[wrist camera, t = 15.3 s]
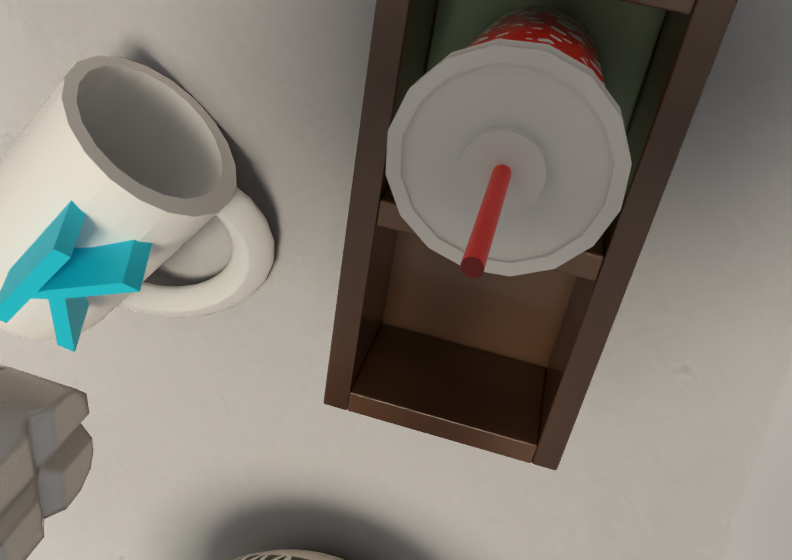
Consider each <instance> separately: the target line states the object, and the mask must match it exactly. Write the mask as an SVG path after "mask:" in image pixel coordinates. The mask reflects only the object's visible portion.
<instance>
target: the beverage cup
mask: <svg viewBox="0 0 792 560" xmlns="http://www.w3.org/2000/svg"><path fill="white" fill-rule="evenodd" d="M631 165H632V163H631V157H630V152H629V147H628V142H627V137H626V132H625V127H624V123H623V118H622V114H621V109H620V107H619V105H618V104H617V103H616V101H615V100H614V99H613V97H612V96H611V95H610V93H609V92H608V90H607V89H606V88H605V84H604V79H603V74H602V70H601V65H600V60H599V56H598V51H597V46H596V43H595V41H594V40H593V39H592V37H591V36H590V35H589V33H588V32H587V30H586V29H585V28H584V26H583V25H582V24H581V22H580V21H578V20H576V19H575V18H573V17H571V16H569V15H568V14H566V13H564V12H562V11H561V10H559V9H557V8H548V7H539V6H527V7H524V8H521V9H517V10H514V11H511V12H507V13H504V14H503V15H502V16H501V17H499V18H498V19H497V20H496V21H494V22H493V23H492V24H491V25H490V26H488V27H487V28H486V29H485V30H484V31H483V32H481V33H480V34H479V35H478V36H477V37H476V38H475V39H474V40H473V41H472V42H471V43H470V44H469V45H468V46H467V47H466V48H465V49H461V50H458V51H454V52H452V53H450V54H449V55H448V56H447V57H446V58H444V59H443V60H442V61H441V62H439V63H438V64H437V65H436V66H435V67H433V68H432V69H431V70H430V71H429V72H427V73H426V74H425V75H424V76H423V77H421V78H420V79H419V80H418V81H417V82H416V83H415V84H414V85H412V86H411V87H410V88H409V90H408V91H407V93H406V95H405V97H404V99H403V101H402V103H401V105H400V107H399V109H398V111H397V113H396V115H395V117H394V119H393V121H392V123H391V125H390V127H389V129H388V137H387V156H386V177H387V180H388V183H389V185H390V188H391V191H392V194H393V197H394V199H395V202H396V205H397V208H398V211H399V213H400V216H401V217H402V218H403V219H404V220H405V221H406V222H407V224H408V225H409V226H410V227H411V228H412V229H413V231H414V232H415V233H416V234H417V235H418V236H419V237H420V239H421V240H422V241H423V242H424V243H425V244H426V245H427V247H428V248H430V249H432V250H433V251H435V252H437V253H439V254H441V255H442V256H444V257H446V258H448V259H450V260H451V261H453V262H455V263H457V264H459V265H460V268H461V271H462V273H463V274H464V275H465V276H467V277H470V278H477V277H479V276H481V275H482V274H483V272H487V273H493V274H499V275H505V276H516V275H522V274H528V273H533V272H539V271H545V270H551V269H555V268H557V267H559V266H560V265H562V264H564V263H565V262H567V261H569V260H570V259H572V258H574V257H576V256H577V255H579V254H581V253H582V252H584V251H586V250H587V249H589V248H591V247H593V246H594V245H595V243H596V242H597V241H598V239H599V238H600V237H601V235H602V234H603V233H604V231H605V230H606V229H607V228H608V226H609V225H610V224H611V222H612V221H613V220H614V218H615V217H616V216H617V214H618V213H619V212H620V210H621V207H622V203H623V199H624V195H625V191H626V186H627V182H628V178H629V174H630V170H631Z"/></svg>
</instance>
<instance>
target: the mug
mask: <svg viewBox="0 0 792 560" xmlns="http://www.w3.org/2000/svg"><path fill="white" fill-rule="evenodd" d="M214 216H216V217H217V218H219V220H220V221H221V222H222V223H223V225H224V226H225V227H226V228H227V229H228V232H229V234H230V236H231V239H232V241H233V254H232V257H231V259H230V262H229V264H228V265H227V266H226V267H225V268H224V270H223V271H222V272H221V273H220V274H218V275H216V276H215V277H213V278H212V279H210V280H207V281H204V282H201V283H198V284H195V285H187V286H160V285H155V284H151V283H146V282H143V281H144V280H146V279H147V278H148V277H149V276H150V275H151V274H152V273H153V272H154V271H155V270H156V269H158V268H159V267H160V266H161V265H162V264H163V263H164V262H165V261H166V260H167V259H168V258H170V257H171V256H172V255H173V254H174V253H175V252H176V251H177V250H178V249H179V248H180V247H181V246H183V245H184V244H185V243H186V242H187V241H188V240H189V239H190V238H191V237H192V236H193V235H195V234H196V233H197V232H198V231H199V230H200V229H201V228H202V227H203V226H204V225H205V224H206V223H208V222H209V221H210V220H211V219H212V218H213V217H214ZM273 262H274V239H273V236H272V233H271V230H270V228H269V225H268V222H267V219H266V218H265V216H264V215H263V214H262V212H261V211H260V210H259V208H258V207H257V206H256V204H255V203H254V202H253V200H252V199H251V198H250V197H248V196H247V195H246V194H245V193H243V192H242V191H241V190H240V189H238V188H237V187H236V165H235V162H234V159H233V156H232V154H231V151H230V148H229V145H228V143H227V141H226V139H225V138H224V136H223V134H222V133H221V131H220V130H219V128H218V126H217V125H216V123H215V122H214V120H213V119H212V118H211V117H210V116H209V114H208V113H207V112H206V111H205V110H204V109H203V108H202V107H201V105H200V104H199V103H198V102H197V101H196V100H195V99H194V98H193V97H192V96H190V95H189V94H188V93H187V92H185V91H184V90H183V89H182V88H181V87H179V86H178V85H177V84H176V83H174V82H173V81H172V80H170V79H168V78H167V77H165V76H163V75H161V74H160V73H158V72H156V71H154V70H153V69H151V68H149V67H147V66H145V65H142V64H139V63H136V62H133V61H130V60H127V59H124V58H121V57H108V56H95V57H92V58H89V59H86V60H82V61H79V62H77V63H76V64H75V66H74V67H73V68H72V69H71V70H70V71H69V72H68V74H67V75H66V76H65V77H64V78H63V80H62V81H61V82H60V84H59V85H58V86H57V88H56V89H55V90H54V92H53V93H52V94H51V95H50V97H49V98H48V99H47V101H46V102H45V103H44V105H43V106H42V107H41V108H40V110H39V111H38V112H37V114H36V115H35V116H34V118H33V119H32V120H31V121H30V123H29V124H28V125H27V127H26V128H25V129H24V131H23V132H22V133H21V135H20V136H19V137H18V138H17V140H16V141H15V142H14V144H13V145H12V146H11V148H10V149H9V150H8V151H7V153H6V154H5V155H4V157H3V158H2V159H1V161H0V329H1V330H3V331H5V332H8V333H11V334H14V335H17V336H21V337H26V338H32V339H56V340H57V345H59V346H62V347H64V348H67V349H69V350H71V351H74V352H75V350H76V346H77V343H78V340H79V337H80V333H81V332H84V331H85V330H87V329H89V328H91V327H93V326H94V325H96V324H97V323H99V322H100V321H101V320H102V319H103V318H105V317H106V316H107V315H108V314H109V313H110V312H111V311H112V310H113V309H114V308H115V307H116V306H119V307H122V308H124V309H127V310H130V311H134V312H139V313H143V314H148V315H153V316H161V317H182V318H184V317H193V316H201V315H209V314H212V313H216V312H219V311H222V310H225V309H228V308H231V307H233V306H235V305H237V304H238V303H240V302H242V301H243V300H245V299H247V298H248V297H250V296H252V295H253V294H254V293H255V291H256V290H257V289H258V288H259V287H260V286H261V285H262V284H263V283H264V282H265V281H266V279H267V276H268V274H269V272H270V269H271V267H272V265H273Z"/></svg>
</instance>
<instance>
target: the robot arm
mask: <svg viewBox="0 0 792 560" xmlns="http://www.w3.org/2000/svg"><path fill="white" fill-rule="evenodd" d="M88 414H89V407H88V401H87V395H86V393H84V392H82V391H80V390H77V389H74V388H71V387H68V386H65V385H62V384H59V383H56V382H53V381H50V380H47V379H44V378H41V377H38V376H35V375H32V374H29V373H26V372H23V371H20V370H17V369H14V368H11V367H6V366H3V365H0V560H26V559H27V557H28V556H29V555H30V554H31V552H32V551H33V550H34V549H35V547H36V546H37V545H38V544H39V543H40V541H41V540H42V539H43V538H44V519H45V518H47V517H49V516H52V515H54V514H56V513H58V512H60V511H63V510H65V509H67V507H68V506H69V505H70V504H71V502H72V501H73V500H74V498H75V497H76V496H77V494H78V493H79V492H80V490H81V488H82V486H83V484H84V482H85V480H86V477H87V475H88V473H89V471H90V469H91V463H92V457H93V443H92V437H91V436H90V435H89V433H88V432H87V431H86V429H85V428H84V427H83V426H82V424H81V422H82V421H83V420H84V418H85V417H86V416H87V415H88Z"/></svg>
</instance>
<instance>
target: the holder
mask: <svg viewBox="0 0 792 560" xmlns="http://www.w3.org/2000/svg"><path fill="white" fill-rule="evenodd" d="M737 1H738V0H376V7H375V15H374V22H373V30H372V38H371V45H370V53H369V61H368V68H367V76H366V83H365V91H364V99H363V106H362V114H361V122H360V129H359V137H358V144H357V152H356V160H355V167H354V175H353V182H352V190H351V198H350V205H349V213H348V221H347V228H346V236H345V243H344V251H343V259H342V266H341V274H340V282H339V289H338V297H337V304H336V312H335V320H334V327H333V335H332V342H331V350H330V358H329V365H328V373H327V381H326V388H325V396H324V404H327V405H331V406H334V407H337V408H341V409H344V410H347V409H348V411H352V412H355V413H359V414H362V415H365V416H369V417H372V418H376V419H379V420H383V421H386V422H390V423H393V424H397V425H400V426H403V427H407V428H410V429H414V430H417V431H421V432H424V433H428V434H431V435H435V436H438V437H442V438H445V439H448V440H452V441H455V442H459V443H462V444H466V445H469V446H473V447H476V448H480V449H483V450H487V451H490V452H493V453H497V454H500V455H504V456H507V457H511V458H514V459H518V460H521V461H525V462H528V463H531V462H532V463H533V464H535V465H539V466H542V467H546V468H549V469H553V470H557V468H558V465H559V463H560V460H561V457H562V455H563V452H564V450H565V447H566V444H567V442H568V439H569V437H570V434H571V431H572V429H573V426H574V424H575V421H576V419H577V416H578V413H579V411H580V408H581V406H582V403H583V400H584V398H585V395H586V393H587V390H588V387H589V385H590V382H591V380H592V377H593V374H594V372H595V369H596V367H597V364H598V361H599V359H600V356H601V354H602V351H603V349H604V346H605V343H606V341H607V338H608V336H609V333H610V330H611V328H612V325H613V323H614V320H615V317H616V315H617V312H618V310H619V307H620V304H621V302H622V299H623V297H624V294H625V291H626V289H627V286H628V284H629V281H630V279H631V276H632V273H633V271H634V268H635V266H636V263H637V260H638V258H639V255H640V253H641V250H642V247H643V245H644V242H645V240H646V237H647V234H648V232H649V229H650V227H651V224H652V221H653V219H654V216H655V214H656V211H657V209H658V206H659V203H660V201H661V198H662V196H663V193H664V190H665V188H666V185H667V183H668V180H669V177H670V175H671V172H672V170H673V167H674V164H675V162H676V159H677V157H678V154H679V151H680V149H681V146H682V144H683V141H684V139H685V136H686V133H687V131H688V128H689V126H690V123H691V120H692V118H693V115H694V113H695V110H696V107H697V105H698V102H699V100H700V97H701V94H702V92H703V89H704V87H705V84H706V81H707V79H708V76H709V74H710V71H711V69H712V66H713V63H714V61H715V58H716V56H717V53H718V50H719V48H720V45H721V43H722V40H723V37H724V35H725V32H726V30H727V27H728V24H729V22H730V19H731V17H732V14H733V11H734V9H735V6H736V4H737ZM527 6H539V7H548V8H557V9H559V10H561V11H562V12H564V13H566V14H568V15H569V16H571V17H573V18H575V19H576V20H578V21H580V22H581V24H582V25H583V26H584V28H585V29H586V30H587V32H588V33H589V35H590V36H591V37H592V39H593V40H594V41H595V43H596V46H597V51H598V56H599V60H600V65H601V70H602V74H603V79H604V84H605V88H606V89H607V90H608V92H609V93H610V95H611V96H612V97H613V99H614V100H615V101H616V103H617V104H618V105H619V107H620V109H621V114H622V118H623V123H624V127H625V132H626V137H627V142H628V147H629V152H630V157H631V163H632V165H631V170H630V174H629V178H628V182H627V186H626V191H625V195H624V199H623V203H622V207H621V210H620V212H619V213H618V214H617V216H616V217H615V218H614V220H613V221H612V222H611V224H610V225H609V226H608V228H607V229H606V230H605V231H604V233H603V234H602V235H601V237H600V238H599V239H598V241H597V242H596V243H595V245H594V246H593V247H591V248H589V249H587V250H586V251H584V252H582V253H581V254H579V255H577V256H576V257H574V258H572V259H570V260H569V261H567V262H565V263H564V264H562V265H560V266H559V267H557V268H555V269H551V270H545V271H539V272H533V273H528V274H522V275H516V276H505V275H499V274H493V273H487V272H483V274H482V275H481V276H479V277H477V278H470V277H467V276H465V275H464V274H463V273H462V271H461V268H460V265H459V264H457V263H455V262H453V261H451V260H450V259H448V258H446V257H444V256H442V255H441V254H439V253H437V252H435V251H433V250H432V249H430V248H428V247H427V245H426V244H425V243H424V242H423V241H422V240H421V239H420V237H419V236H418V235H417V234H416V233H415V232H414V231H413V229H412V228H411V227H410V226H409V225H408V224H407V222H406V221H405V220H404V219H403V218H402V217H401V216H400V213H399V211H398V208H397V205H396V202H395V199H394V197H393V194H392V191H391V188H390V185H389V183H388V180H387V177H386V156H387V137H388V129H389V127H390V125H391V123H392V121H393V119H394V117H395V115H396V113H397V111H398V109H399V107H400V105H401V103H402V101H403V99H404V97H405V95H406V93H407V91H408V90H409V88H410V87H411V86H412V85H414V84H415V83H416V82H417V81H418V80H419V79H420V78H421V77H423V76H424V75H425V74H426V73H427V72H429V71H430V70H431V69H432V68H433V67H435V66H436V65H437V64H438V63H439V62H441V61H442V60H443V59H444V58H446V57H447V56H448V55H449V54H450V53H452V52H454V51H458V50H461V49H465V48H466V47H467V46H468V45H469V44H470V43H471V42H472V41H473V40H474V39H475V38H476V37H477V36H478V35H479V34H480V33H481V32H483V31H484V30H485V29H486V28H487V27H488V26H490V25H491V24H492V23H493V22H494V21H496V20H497V19H498V18H499V17H501V16H502V15H503V14H504V13H507V12H511V11H514V10H517V9H521V8H524V7H527Z"/></svg>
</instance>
